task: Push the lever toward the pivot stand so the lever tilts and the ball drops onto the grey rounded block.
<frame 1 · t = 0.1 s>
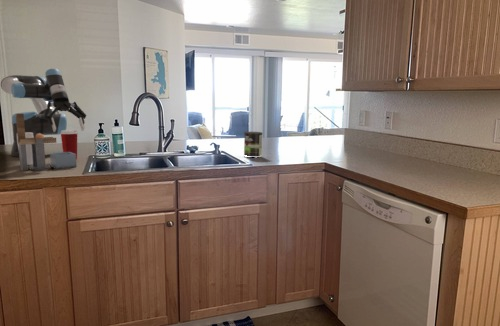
hand: (69, 129, 190), 15 cm above the counter, tool tilted 35°, fingers open, 13 cm apart
coffee cup: (70, 160, 193), on the counter
coffee can: (252, 157, 215), on the counter
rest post: (24, 170, 163), on the counter
grey rounded block: (63, 166, 174), on the counter
pivot stand: (39, 168, 167), on the counter
lever: (36, 128, 164), point 18 cm above the counter, hinge at 0.0°, touching ball
ball: (39, 140, 165), point 12 cm above the counter, touching lever
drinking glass: (27, 165, 176), on the counter
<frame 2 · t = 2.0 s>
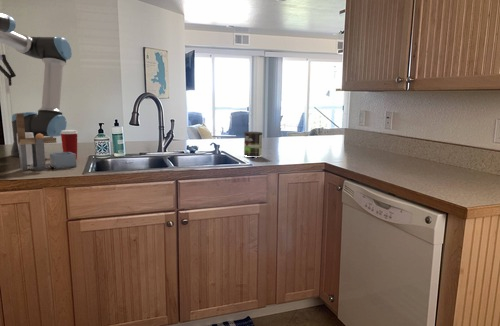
nothing on the counter moved.
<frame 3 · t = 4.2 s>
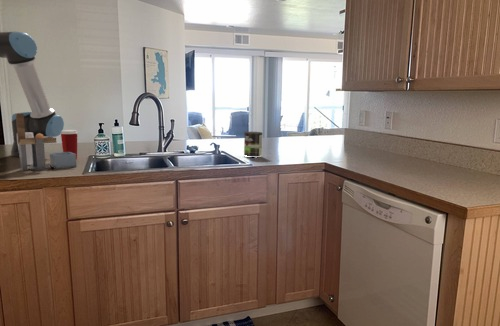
nothing on the counter moved.
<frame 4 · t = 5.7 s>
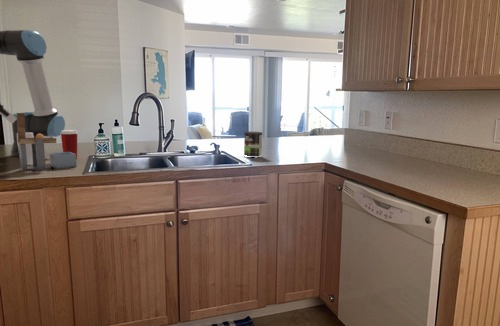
hand: (14, 121, 158), 21 cm above the counter, tool tilted 45°, fingers closed
lever: (36, 128, 164), point 18 cm above the counter, hinge at 1.8°, touching ball, gripper
everything else where it was.
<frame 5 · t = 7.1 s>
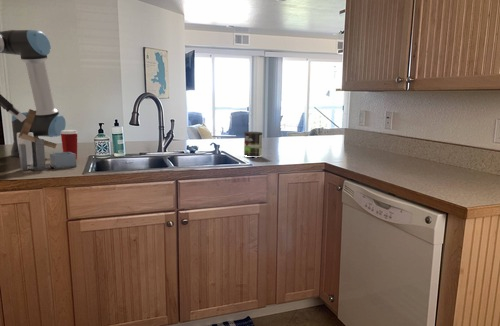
hand: (23, 119, 160), 22 cm above the counter, tool tilted 45°, fingers closed
lever: (41, 129, 165), point 18 cm above the counter, hinge at 22.2°, touching gripper
ball: (65, 161, 174), point 2 cm above the counter, tilted 95°, touching grey rounded block
everything else where it was.
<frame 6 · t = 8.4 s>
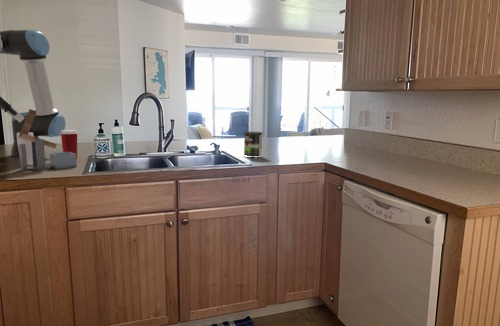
hand: (22, 120, 160), 22 cm above the counter, tool tilted 45°, fingers closed
lever: (42, 129, 165), point 18 cm above the counter, hinge at 22.3°
ball: (67, 164, 175), point 1 cm above the counter, tilted 23°, touching grey rounded block
everything else where it was.
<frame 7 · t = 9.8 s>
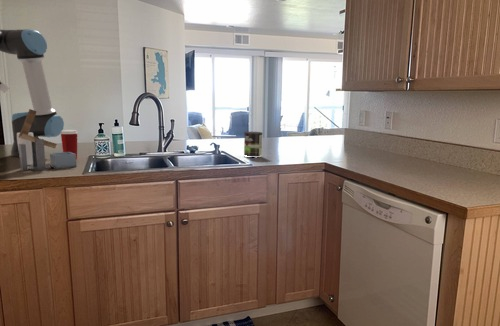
hand: (6, 90, 159), 34 cm above the counter, tool tilted 45°, fingers closed
ball: (68, 164, 175), point 1 cm above the counter, tilted 8°, touching grey rounded block
everything else where it was.
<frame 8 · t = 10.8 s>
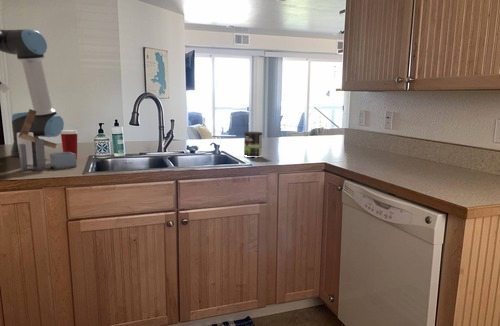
hand: (6, 90, 159), 34 cm above the counter, tool tilted 45°, fingers closed
ball: (68, 164, 175), point 1 cm above the counter, tilted 13°, touching grey rounded block
everything else where it was.
at the end: ball 2.0 cm off-centre on the grey rounded block, point 0.6 cm above the grey rounded block's base; ball touching grey rounded block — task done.
